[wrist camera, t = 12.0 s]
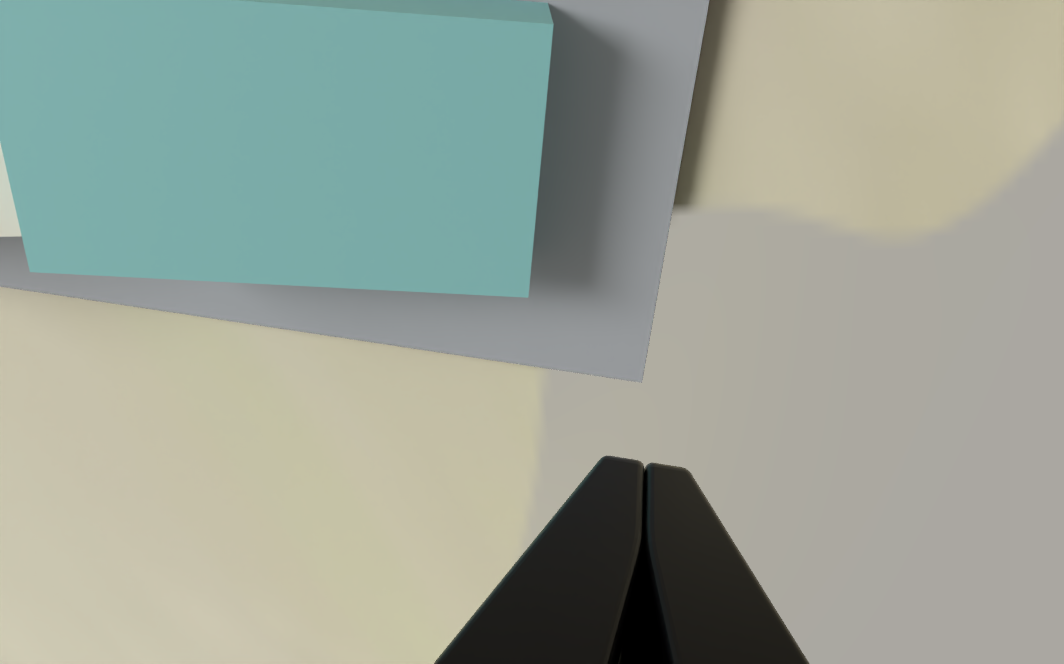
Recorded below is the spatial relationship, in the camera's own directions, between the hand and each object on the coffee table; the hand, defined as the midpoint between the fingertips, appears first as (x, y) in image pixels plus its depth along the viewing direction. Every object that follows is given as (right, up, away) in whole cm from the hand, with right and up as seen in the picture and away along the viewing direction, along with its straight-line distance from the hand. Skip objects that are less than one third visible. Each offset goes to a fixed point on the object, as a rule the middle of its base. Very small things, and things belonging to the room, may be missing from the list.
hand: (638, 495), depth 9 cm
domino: (-1, +5, +7) cm, 9 cm away
